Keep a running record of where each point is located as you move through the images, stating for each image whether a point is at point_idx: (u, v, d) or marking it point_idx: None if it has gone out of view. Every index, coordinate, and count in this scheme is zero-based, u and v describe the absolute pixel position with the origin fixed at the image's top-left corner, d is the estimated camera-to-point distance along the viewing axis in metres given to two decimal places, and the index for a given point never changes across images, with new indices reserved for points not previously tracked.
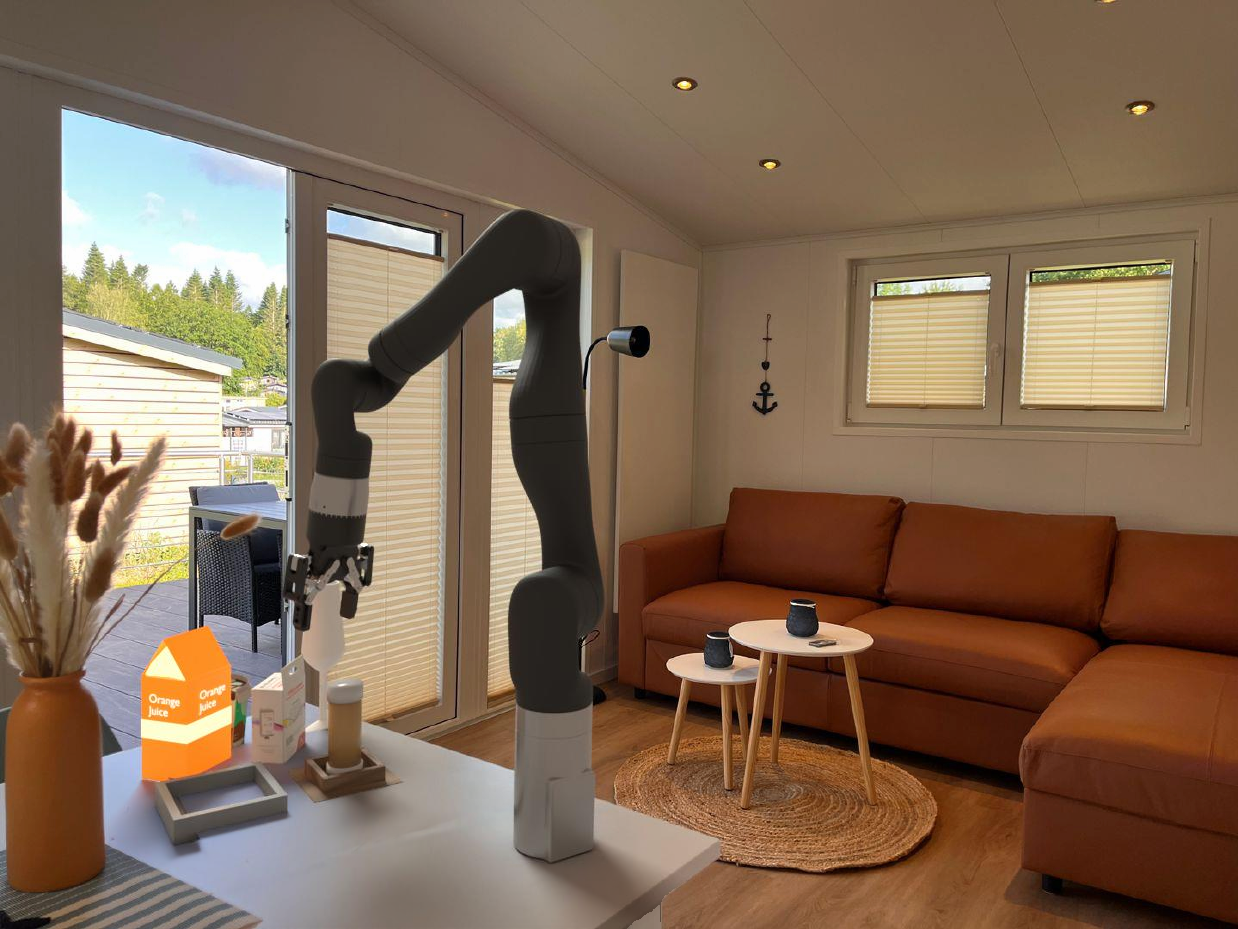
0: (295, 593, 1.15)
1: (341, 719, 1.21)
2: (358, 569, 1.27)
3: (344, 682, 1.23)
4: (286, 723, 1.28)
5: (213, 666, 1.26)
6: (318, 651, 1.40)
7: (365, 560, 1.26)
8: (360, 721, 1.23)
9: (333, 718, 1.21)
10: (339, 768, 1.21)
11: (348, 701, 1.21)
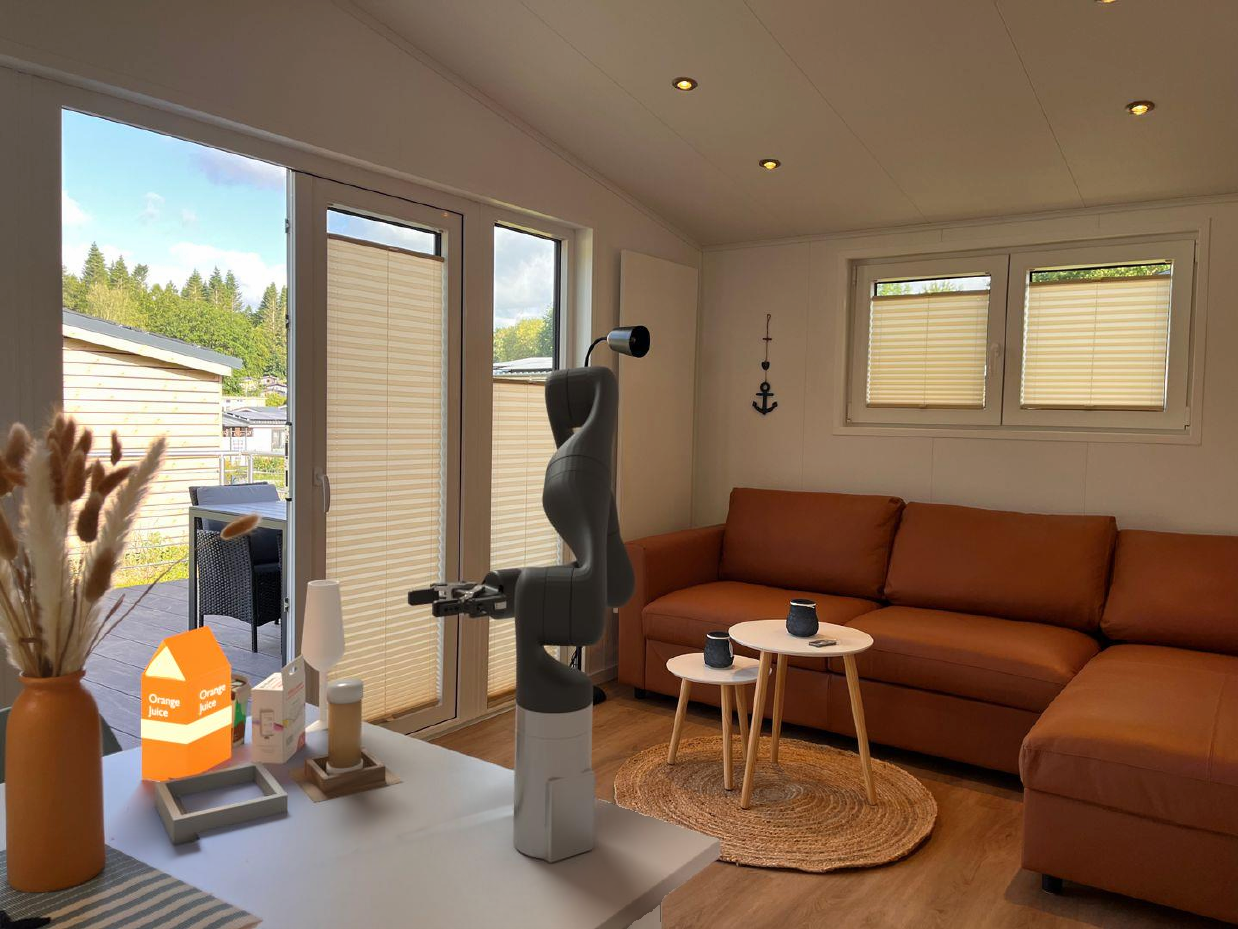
0: None
1: (341, 719, 1.21)
2: (481, 612, 1.27)
3: (344, 682, 1.23)
4: (286, 723, 1.28)
5: (213, 666, 1.26)
6: (318, 651, 1.40)
7: None
8: (360, 721, 1.23)
9: (333, 718, 1.21)
10: (339, 768, 1.21)
11: (348, 701, 1.21)
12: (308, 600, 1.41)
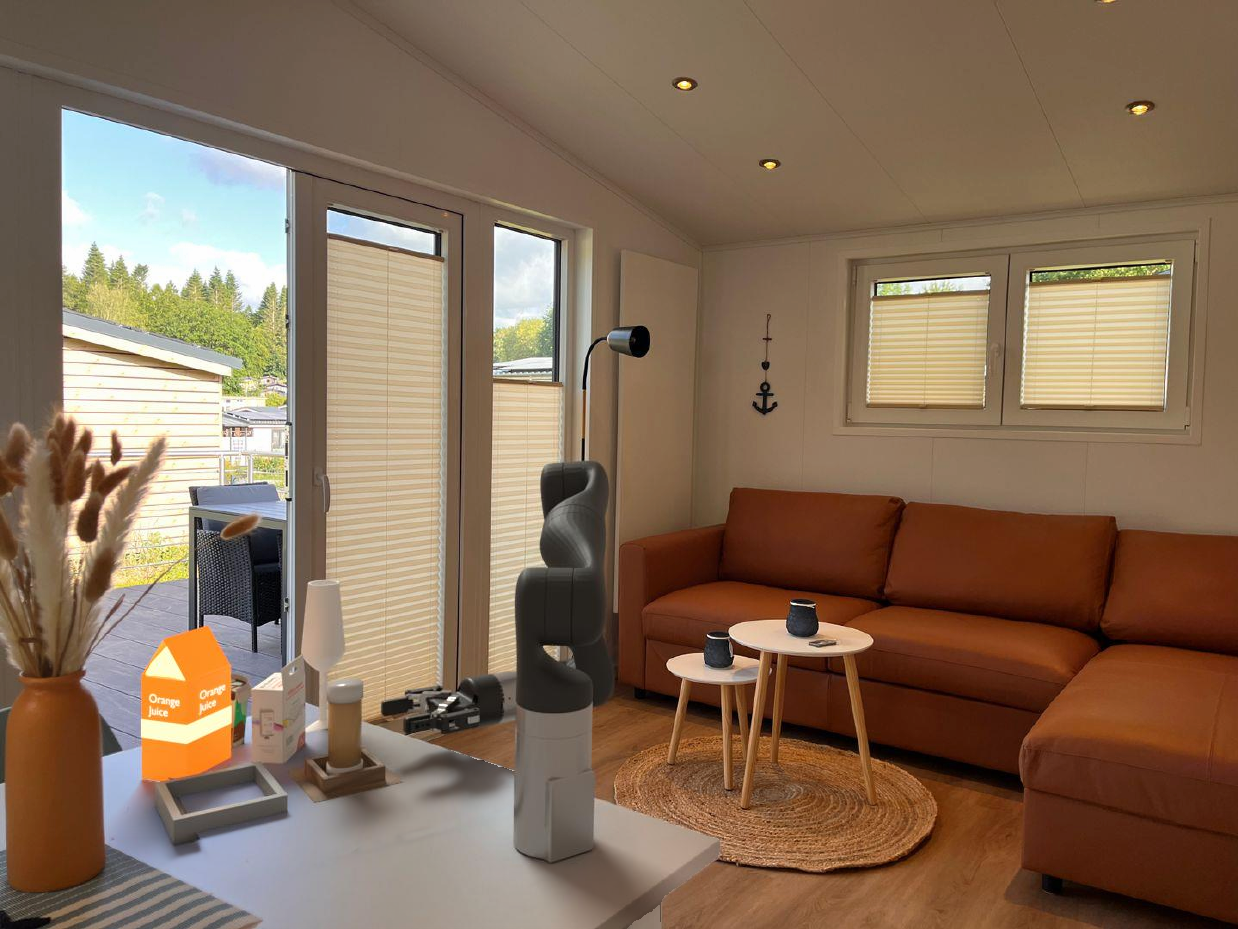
0: None
1: (341, 719, 1.21)
2: (454, 727, 1.26)
3: (344, 682, 1.23)
4: (286, 723, 1.28)
5: (213, 666, 1.26)
6: (318, 651, 1.40)
7: None
8: (360, 721, 1.23)
9: (333, 718, 1.21)
10: (339, 768, 1.21)
11: (348, 701, 1.21)
12: (308, 600, 1.41)
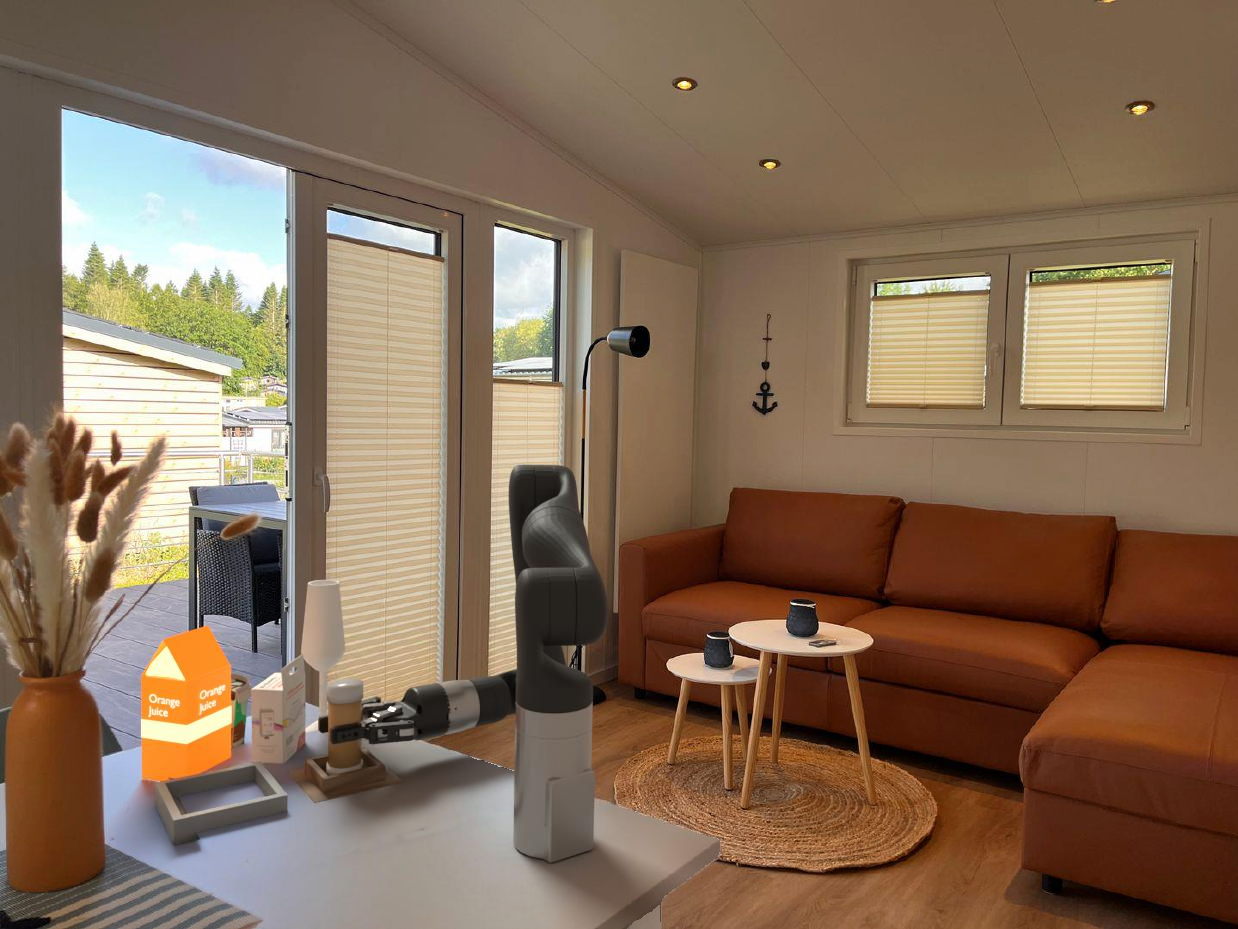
0: None
1: (341, 719, 1.21)
2: (384, 738, 1.21)
3: (344, 682, 1.23)
4: (286, 723, 1.28)
5: (213, 666, 1.26)
6: (318, 651, 1.40)
7: None
8: (360, 721, 1.23)
9: (333, 718, 1.21)
10: (339, 768, 1.21)
11: (348, 701, 1.21)
12: (308, 600, 1.41)
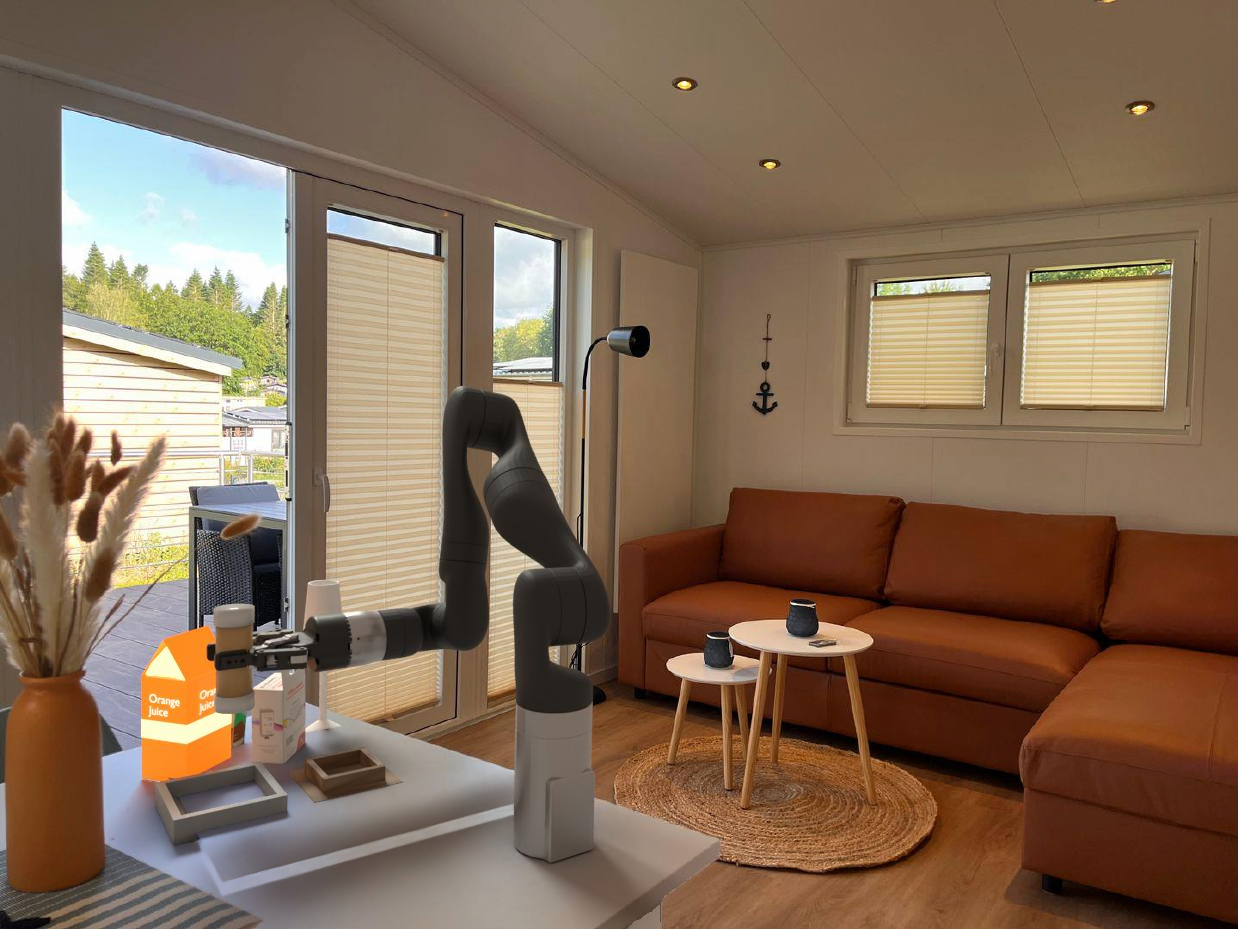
0: None
1: (227, 645, 1.12)
2: (274, 665, 1.12)
3: (234, 607, 1.15)
4: (286, 723, 1.28)
5: (213, 666, 1.26)
6: None
7: None
8: None
9: (219, 643, 1.12)
10: (226, 698, 1.13)
11: (235, 625, 1.12)
12: (308, 600, 1.41)
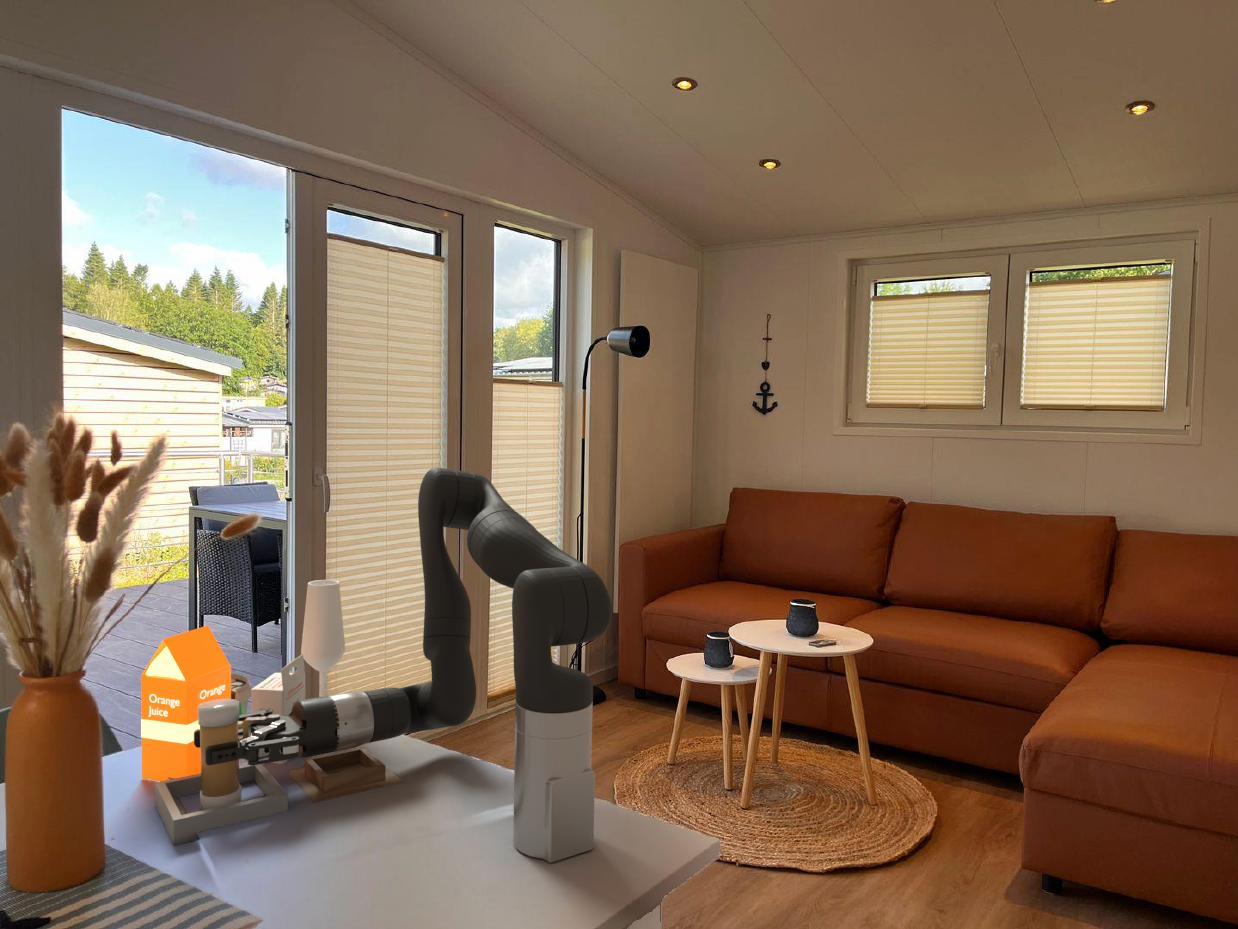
0: None
1: (212, 744, 1.11)
2: (265, 757, 1.11)
3: (218, 704, 1.14)
4: None
5: (213, 666, 1.26)
6: (318, 651, 1.40)
7: None
8: None
9: (204, 742, 1.12)
10: (212, 797, 1.12)
11: (220, 724, 1.11)
12: (308, 600, 1.41)
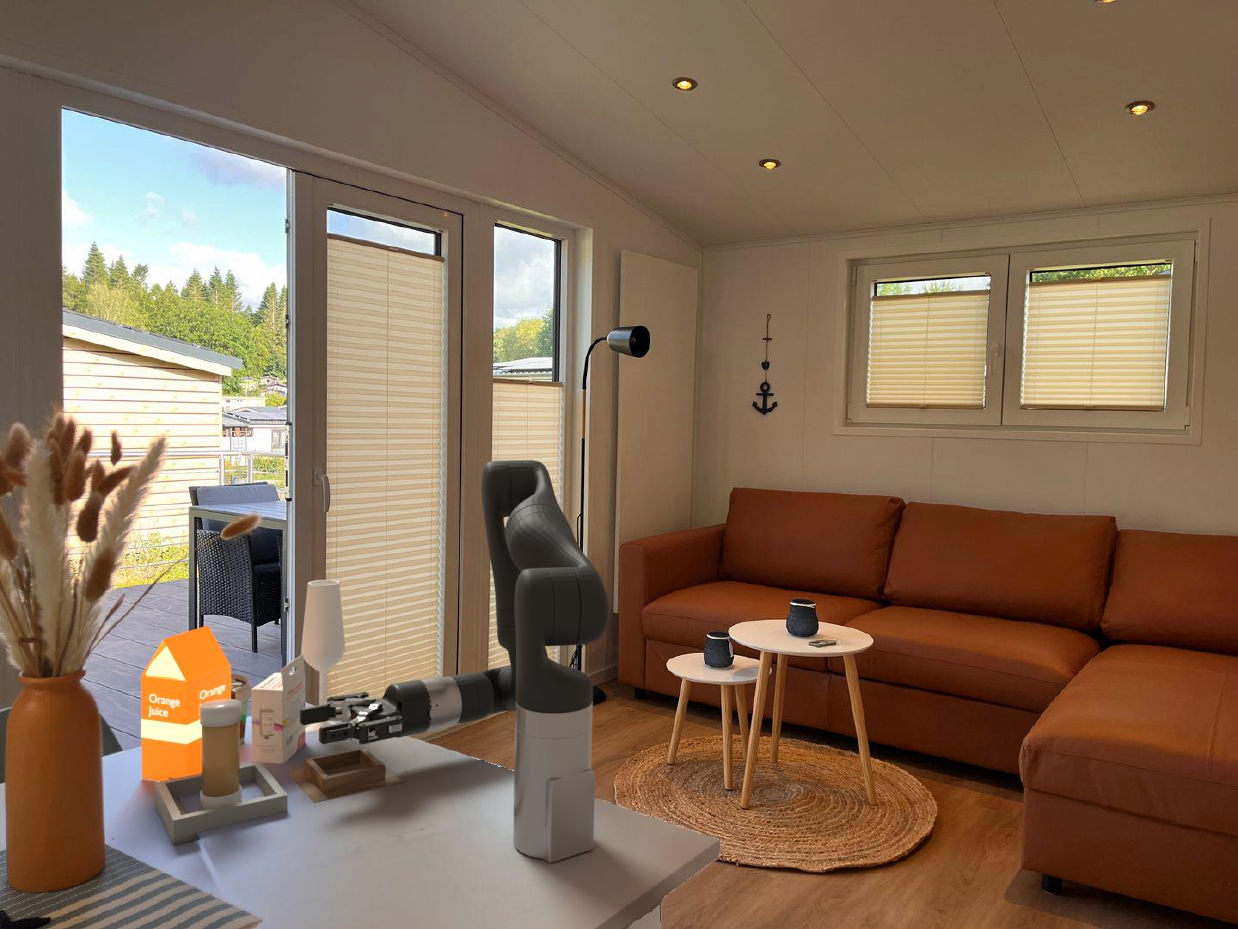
0: None
1: (214, 744, 1.11)
2: (373, 736, 1.19)
3: (220, 704, 1.14)
4: (286, 723, 1.28)
5: (213, 666, 1.26)
6: (318, 651, 1.40)
7: None
8: (237, 745, 1.14)
9: (205, 742, 1.12)
10: (212, 797, 1.12)
11: (222, 724, 1.11)
12: (308, 600, 1.41)
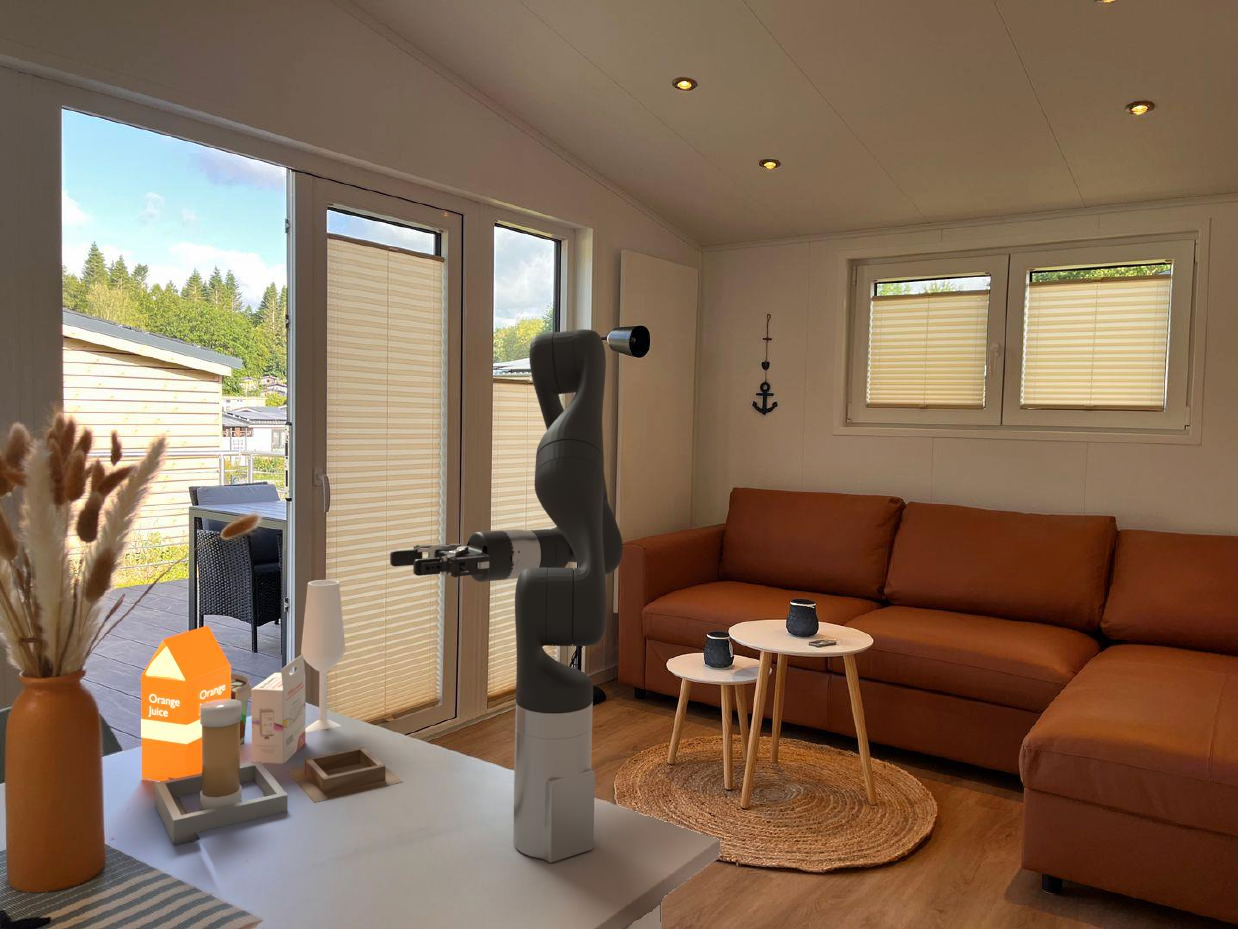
0: None
1: (214, 744, 1.11)
2: (464, 571, 1.25)
3: (220, 704, 1.14)
4: (286, 723, 1.28)
5: (213, 666, 1.26)
6: (318, 651, 1.40)
7: None
8: (237, 745, 1.14)
9: (205, 742, 1.12)
10: (212, 797, 1.12)
11: (222, 724, 1.11)
12: (308, 600, 1.41)
